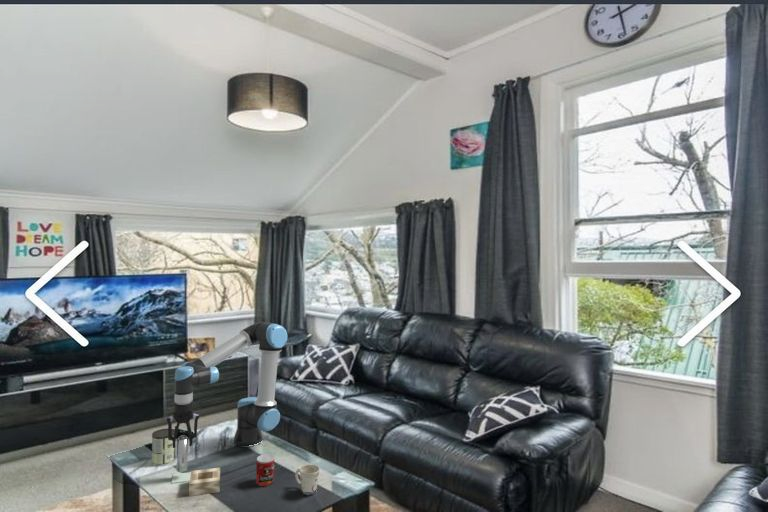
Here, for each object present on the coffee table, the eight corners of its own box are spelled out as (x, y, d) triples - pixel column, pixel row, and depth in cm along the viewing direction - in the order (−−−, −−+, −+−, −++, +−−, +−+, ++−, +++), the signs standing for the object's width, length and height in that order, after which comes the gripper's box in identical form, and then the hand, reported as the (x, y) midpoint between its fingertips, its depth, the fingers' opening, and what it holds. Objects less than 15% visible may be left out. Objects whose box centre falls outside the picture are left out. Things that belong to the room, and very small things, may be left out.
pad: (192, 472, 215) (192, 471, 215) (191, 481, 207) (191, 480, 207) (173, 475, 212) (173, 474, 212) (171, 483, 205) (171, 482, 205)
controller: (174, 443, 246) (174, 424, 246) (195, 445, 243) (195, 426, 243) (168, 446, 242) (169, 427, 242) (189, 449, 239) (190, 429, 239)
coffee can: (159, 455, 231) (159, 427, 231) (179, 457, 230) (179, 428, 230) (146, 465, 221) (147, 435, 221) (167, 467, 220) (168, 437, 220)
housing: (219, 478, 210) (220, 467, 210) (219, 491, 199) (219, 480, 199) (191, 482, 206) (191, 471, 206) (189, 496, 195) (189, 484, 195)
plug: (187, 466, 212) (188, 433, 212) (186, 471, 208) (187, 437, 208) (177, 467, 211) (177, 434, 211) (176, 472, 207) (176, 438, 206)
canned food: (258, 488, 202) (258, 463, 202) (254, 480, 209) (254, 455, 209) (275, 484, 206) (276, 459, 206) (271, 476, 213) (271, 452, 213)
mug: (310, 499, 195) (310, 475, 194) (287, 490, 201) (288, 467, 201) (322, 490, 202) (323, 467, 202) (300, 482, 208) (301, 460, 208)
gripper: (204, 398, 215) (203, 448, 216) (163, 400, 210) (162, 452, 210) (203, 403, 208) (202, 455, 209) (161, 406, 203) (159, 459, 203)
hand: (182, 453), depth 209 cm, fingers closed on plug, 4 cm apart
